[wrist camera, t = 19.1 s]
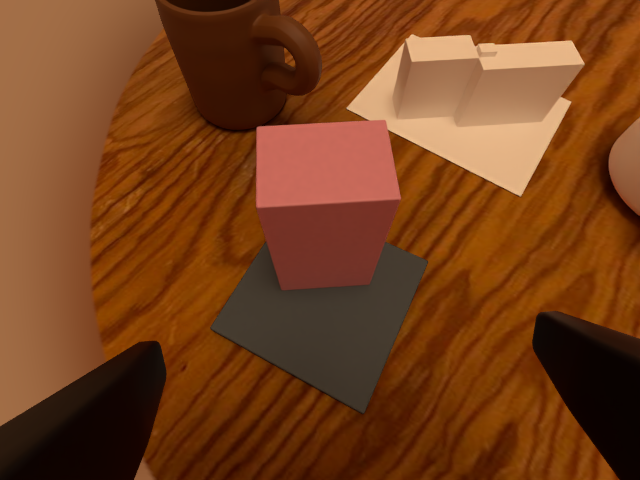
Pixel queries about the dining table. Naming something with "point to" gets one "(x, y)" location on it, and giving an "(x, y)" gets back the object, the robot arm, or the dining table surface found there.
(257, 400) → the dining table surface
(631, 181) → the mug
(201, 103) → the mug
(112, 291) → the dining table surface
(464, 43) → the napkin holder
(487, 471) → the dining table surface
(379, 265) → the mat
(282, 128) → the block
